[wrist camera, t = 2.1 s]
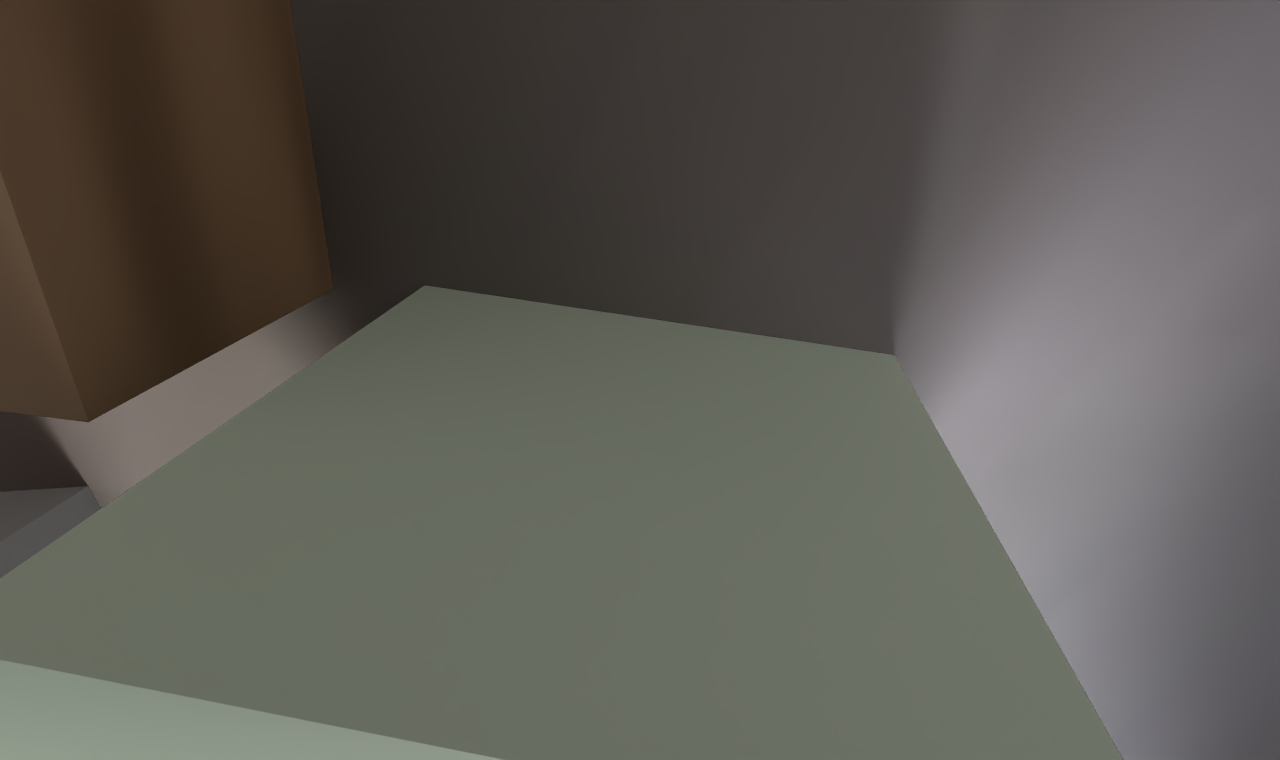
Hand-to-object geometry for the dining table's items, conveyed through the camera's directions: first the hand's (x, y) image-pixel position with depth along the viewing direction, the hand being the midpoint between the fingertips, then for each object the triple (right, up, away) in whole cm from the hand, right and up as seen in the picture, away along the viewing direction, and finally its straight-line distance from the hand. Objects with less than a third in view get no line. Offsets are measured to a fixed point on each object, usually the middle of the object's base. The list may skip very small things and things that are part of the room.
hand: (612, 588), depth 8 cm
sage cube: (0, +1, +2) cm, 2 cm away
